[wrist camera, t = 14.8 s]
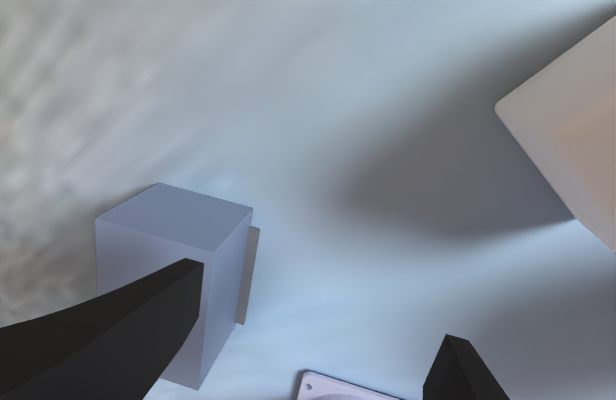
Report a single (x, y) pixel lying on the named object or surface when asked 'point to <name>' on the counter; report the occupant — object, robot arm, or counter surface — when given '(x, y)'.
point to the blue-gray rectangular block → (171, 248)
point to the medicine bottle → (573, 128)
